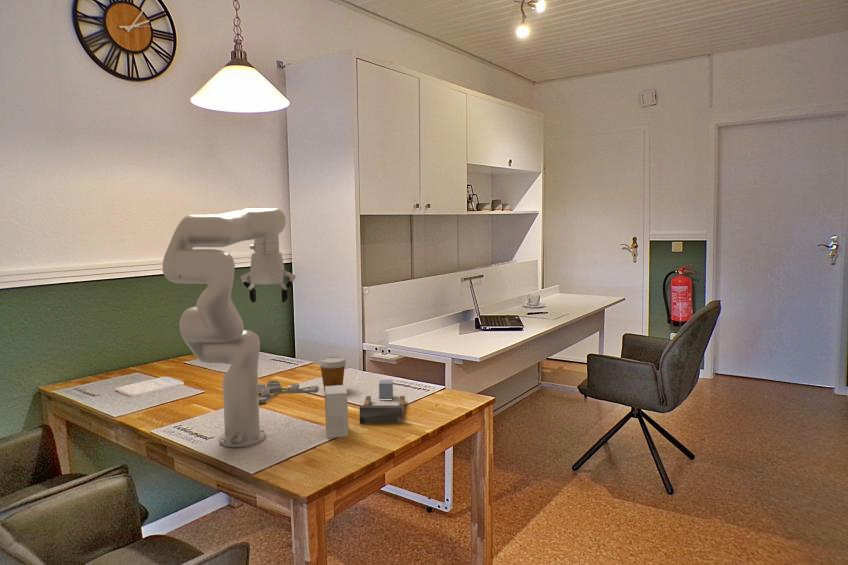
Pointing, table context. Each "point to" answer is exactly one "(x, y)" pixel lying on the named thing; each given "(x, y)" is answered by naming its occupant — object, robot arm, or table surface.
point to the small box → (336, 411)
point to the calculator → (149, 386)
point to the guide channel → (381, 412)
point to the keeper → (386, 389)
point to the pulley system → (276, 387)
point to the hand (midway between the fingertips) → (269, 301)
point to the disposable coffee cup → (332, 371)
